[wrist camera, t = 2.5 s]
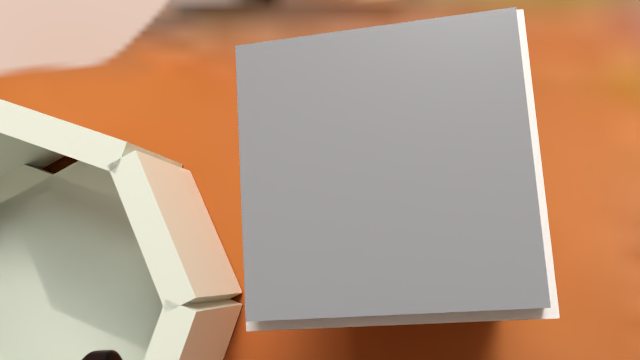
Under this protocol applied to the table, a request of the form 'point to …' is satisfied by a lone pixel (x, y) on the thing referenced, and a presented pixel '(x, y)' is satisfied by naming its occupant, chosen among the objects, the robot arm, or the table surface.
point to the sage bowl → (105, 250)
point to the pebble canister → (393, 177)
